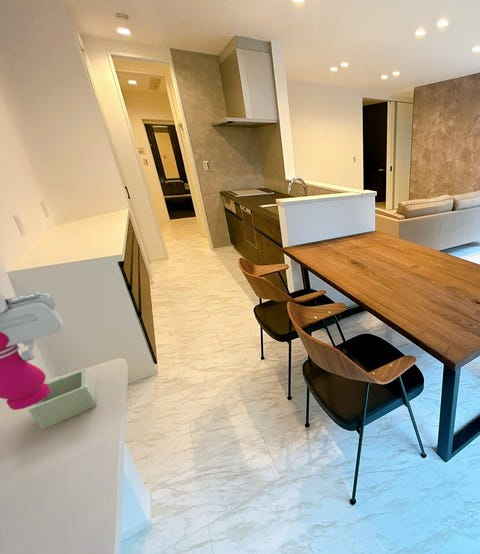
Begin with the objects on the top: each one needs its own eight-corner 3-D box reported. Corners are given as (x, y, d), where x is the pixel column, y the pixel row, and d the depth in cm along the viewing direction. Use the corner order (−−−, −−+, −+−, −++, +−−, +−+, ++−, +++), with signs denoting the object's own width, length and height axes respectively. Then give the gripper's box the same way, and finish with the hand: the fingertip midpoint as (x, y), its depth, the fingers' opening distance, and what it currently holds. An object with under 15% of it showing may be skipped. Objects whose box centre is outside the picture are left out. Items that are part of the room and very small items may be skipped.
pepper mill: (54, 382, 70) (10, 308, 63) (53, 398, 65) (5, 319, 58) (9, 399, 66) (-45, 322, 58) (4, 417, 61) (-55, 335, 53)
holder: (41, 430, 77) (28, 409, 74) (45, 406, 84) (33, 387, 82) (96, 406, 83) (86, 386, 81) (95, 386, 91) (85, 368, 88)
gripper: (48, 286, 65) (76, 338, 71) (-111, 322, 53) (-63, 383, 58) (46, 294, 61) (76, 349, 66) (-129, 335, 49) (-75, 400, 54)
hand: (10, 365), depth 62 cm, fingers closed on pepper mill, 4 cm apart
